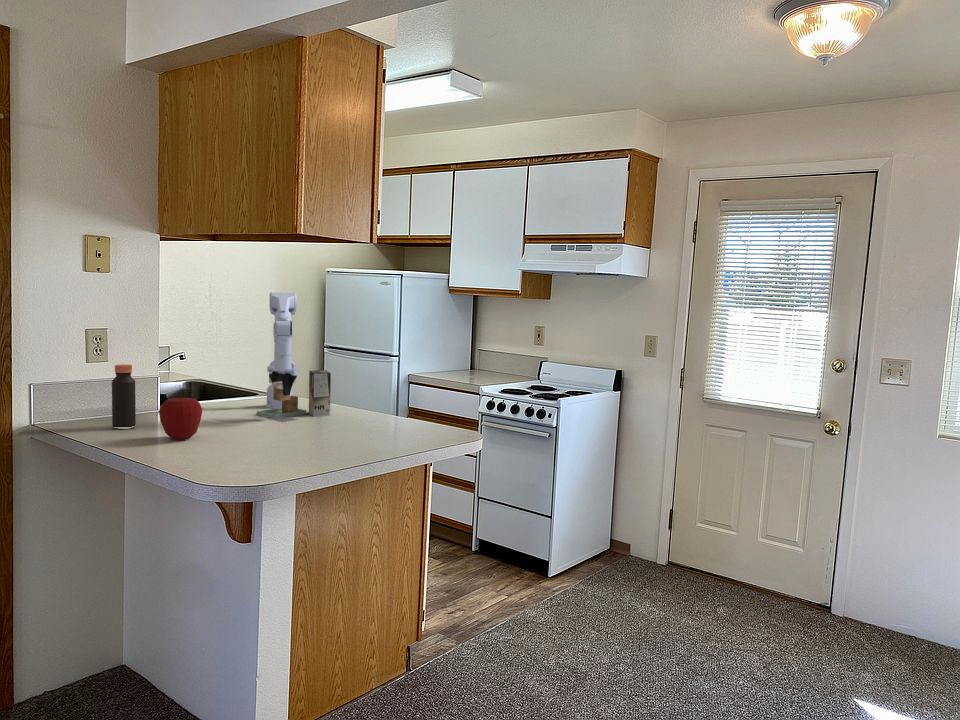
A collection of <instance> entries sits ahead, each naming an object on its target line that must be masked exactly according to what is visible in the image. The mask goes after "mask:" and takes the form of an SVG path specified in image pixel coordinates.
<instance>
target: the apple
mask: <svg viewBox="0 0 960 720" xmlns="http://www.w3.org/2000/svg"><path fill="white" fill-rule="evenodd" d="M158 414H159V419H160V424H161V425H162V429H163V430H164V433H165V434H166V435H167V437H169V438H171V440H173V439H175V441H185V440H184V439H188V440H190V439H191V438H192V437H193V436H194V435H196V434H197V432H198V428H199V427H200V423H201V421H202V416H203V407H202V405H201V403H200V402H199V401H198V400H197V399H196V398H193V397H182V395H180V397H173V398H168V399H166V400H165V401H164V402H163V403H162V404H161V405H160V408H159V410H158ZM189 438H190V439H189Z"/></svg>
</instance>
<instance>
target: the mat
mask: <svg viewBox="0 0 960 720" xmlns="http://www.w3.org/2000/svg"><path fill="white" fill-rule="evenodd" d="M298 420H299V419H298V418H292V417H289V416H288V417H281V418H269V421H274V422H278V423H286V422H293V421H298Z"/></svg>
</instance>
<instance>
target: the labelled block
mask: <svg viewBox="0 0 960 720" xmlns="http://www.w3.org/2000/svg"><path fill="white" fill-rule="evenodd" d="M273 400H279V401H283V400H290V395H284V393H283V383H282V381H281V382H273Z"/></svg>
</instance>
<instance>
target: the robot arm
mask: <svg viewBox="0 0 960 720" xmlns="http://www.w3.org/2000/svg"><path fill="white" fill-rule="evenodd" d="M268 302H269V305H268V306H269V311H270V314H271V315H273V316H274V322H273V324H272V325H273V327H272V328H273V329H272V332H273V342H274V346H273V347H274V353H273V355H274V357H273V358H274V359H273V360H272V361H271V362H270V363H269V365H268V366H267V368H266V371H267V373H268V382H269V384H270V385H268V386H267V389H266V405H264V407H265V408H266V407H267V408H270V409H276V408H282V401H279V400H273V382H281V381H282V383H283V393H284V395H290V396H293V386H294V384H295V383H296V381H297V380H296V379H297V378H298V376H299V374H300V372H299V371H300V369H297V368H296V363H295V362H293V361H292V348H293V347H292V343H293V342H292V338H293V335H294V323H293V322H294V321H293V320H292V316H293V315H296V311H297V305H298V303H297V302H298V301H297V293H296V292H273V291H271V292H270V293H269V301H268Z"/></svg>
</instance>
